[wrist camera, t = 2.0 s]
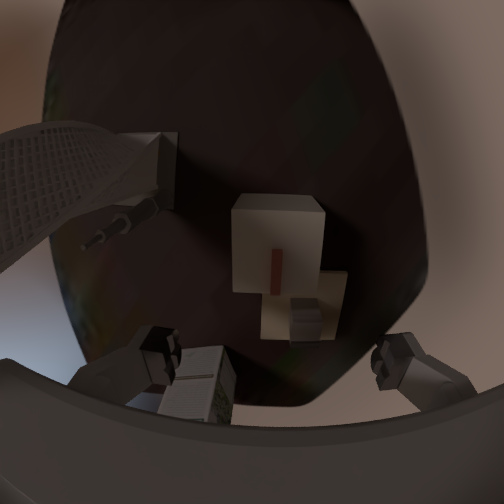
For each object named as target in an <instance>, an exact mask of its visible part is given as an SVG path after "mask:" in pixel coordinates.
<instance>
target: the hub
mask: <svg viewBox="0 0 504 504" xmlns="http://www.w3.org/2000/svg"><path fill="white" fill-rule="evenodd" d="M347 276H348V273H347V271H324V270H320V271H319V279H318V287H317V294H316V295H310V294H280V296H273V295H270V293H262V318H261V339H279V340H290V348H319V346H320V340H334V339H335V335H336V331H337V326H338V322H339V317H340V312H341V308H342V303H343V298H344V292H345V287H346V281H347Z"/></svg>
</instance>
